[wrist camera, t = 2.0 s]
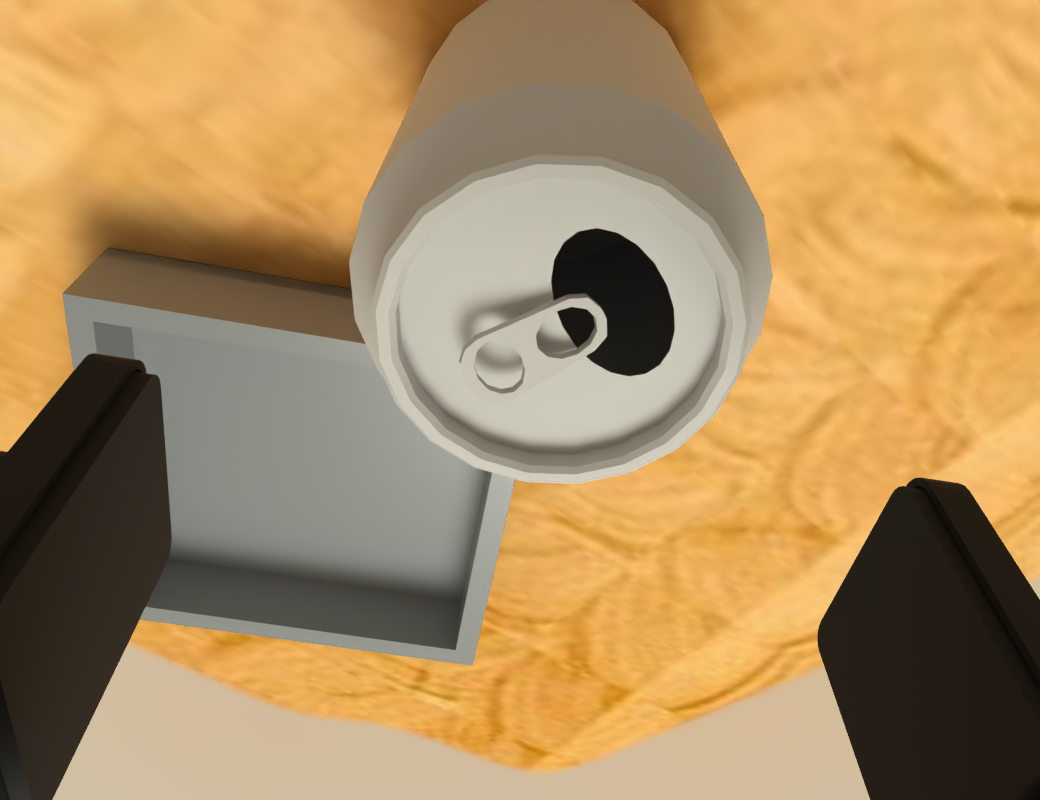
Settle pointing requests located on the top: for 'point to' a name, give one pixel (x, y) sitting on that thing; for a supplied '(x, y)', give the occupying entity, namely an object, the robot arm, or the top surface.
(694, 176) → the can
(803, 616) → the top surface
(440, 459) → the bin
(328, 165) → the top surface
